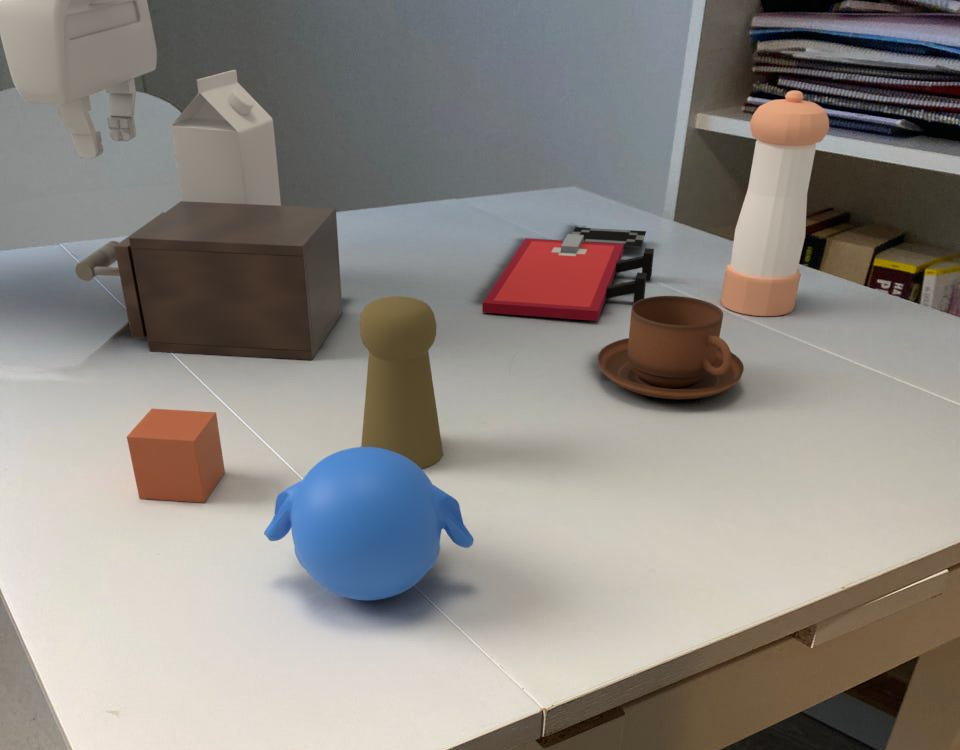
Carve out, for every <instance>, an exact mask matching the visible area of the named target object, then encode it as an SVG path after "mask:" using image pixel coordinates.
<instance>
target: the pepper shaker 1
mask: <svg viewBox="0 0 960 750" xmlns="http://www.w3.org/2000/svg"><path fill="white" fill-rule="evenodd" d="M359 335H360V339H361V342H362V345H364V347H365V348H366V349H367V351H368V360H367V372H366V384H365V396H364V399H365V400H364V408H363V421H362V431H361V432H362V433H361V445H360V447H376V448H382V449H387V450H390V451H393V452H396V453H398V454H401V455H403V456H405V457H406V458H408V459H410V460H411V461H413V462H414V463H415V464H416V465H418V466H419V467H420V468H421V469H422V470H423V469H425V468H428V467H432V466H433V465H435V464H436V463H438V462H440V461H441V458H442V457H443V455H444V451H443V443H442V438H441V437H442V436H441V430H440V429H441V428H440V422H439V416H438V408H437V401H436V395H435V389H434V380H433V374H432V367H431V360H430V354H429V351H430V349H431V347H432V346H433V344H434V343H435V341H436V337H437V320H436V317H435V313H434V311H433V310H432V308H431V306H430V305H429V304H428V303H426V301H425V302H424V301H423V300H421V299H418V298H414V297H410V296H399V295H398V296H397V295H396V296H385V297H380V298H376V299H374V300H372V301H370V302H369V303H368V304H366V305H365V307H364V308H363V310H362V312H361V313H360V318H359Z"/></svg>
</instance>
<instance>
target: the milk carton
mask: <svg viewBox="0 0 960 750" xmlns="http://www.w3.org/2000/svg"><path fill="white" fill-rule="evenodd" d="M196 85H197V94H196V95H195V97H194V98H193V99H192V100H191V101H190V103H189V104H188V105H187V106H186V107H185V108H184V109H183V111H182V112H181V113H180V114H179V115H178V117H177V118H176V119H175V120H174V121H173V122H172V124H171V125H170V131H171V136H172V143H173V151H174V158H175V164H176V170H177V171H176V172H177V178H178V183H179V190H180V198H181V201H186V202H208V203H231V204H253V205H276V206H282V202H281V190H280V189H281V188H280V179H279V170H278V169H279V168H278V158H277V148H276V139H275V138H276V137H275V127H274V119H273V117H272V116H271V114H269V113H268V112H267V111H266V110H265V109H264V108H263V107H262V106H261V104H259V102H257V101H256V99H254V98H253V96H252V95H251V94H250V93H249V92H248V91H247V90H246V89H245V88H244V87H243V86H242V85H241V84H240V83H239V82H238V73H237V69H232V70H228V71H224V72H221V73H216V74H212V75H209V76H205V77H202V78H197V79H196Z"/></svg>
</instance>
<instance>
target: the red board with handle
mask: <svg viewBox="0 0 960 750" xmlns="http://www.w3.org/2000/svg"><path fill="white" fill-rule="evenodd" d="M646 233H647V230H633V229H632V230H631V229H615V228H614V229H612V228H596V227H581V226H580V227H579V226H575V227H574V229H573V231H572V232H571V233H567V234H566V236H565V238H564V240H563V239H561V240H559V239H544V238H527V237H526V238H524V239H523V241H522V243H521V244H520V246H519V247H518V248H517V250H516V252H515V253H514V255H513V256H512V257H511V259H510V260H509V262H508V264H507V265H506V267H505V268H504V270H503V271H502V273H500V276H499V277H498V279H497V280H496V282H495V283H494V285H493V286H492V288H491V289H490V291H489V292H488V294H487V295H486V297H485V298H484V300H483V301H482V306H481V307H482V313H485V314H487V313H488V314H498V315H510V316H511V315H513V316H525V317H537V318H538V317H539V318H551V319H567V320H581V321H593V322H594V321H595V322H598V320H599V318H600V316H601V313H602V310H603V308H604V304H605V302H606V299H612V298H616V297H622V296H627V295H631V294H633V301H632V302H633V303H632V305H633V304H634V303H635V302H637V301H639V300H641V299H645V298H646V286H647V284H646V283H647V282H651V278H652V273H653V264H654V252H655V248H650V247H645V248H644V250H643V255H641V256H636V257H631V258H626V259H622V257H623V254H624V250H625V249H624V248H625V247H631V248H632V247H634V248H641V247H642V246H643V243H644V240H645V236H646ZM638 269H641V272H639V271H638V272H637V273H636V275H635V278H634V280H631V281H625V282H621V283H616V284H613V281H614V278H615V275H616V274H618V273H624V272H627V271H633V270H638Z"/></svg>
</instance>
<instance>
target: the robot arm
mask: <svg viewBox="0 0 960 750" xmlns="http://www.w3.org/2000/svg"><path fill="white" fill-rule="evenodd" d="M0 40H1V44H2V48H3V52H4V55H5V59H6V63H7V66H8V69H9V74H10V76H11V81H12V83H13V85H14V87H15V89H16V91H17V92H18V94H19V95H20V96H21V98H22V99H23V101H24V102H26V103H27V104H33V105H34V104H35V105H53V106H54V105H56V106H57V110H58V114H59V116H60V117H61V119H62V121H63V123H64V125H65V127H66V129H67V130H68V132H69V134H70V135H71V139H72V144H73V149H74V153H75V155H76V156H77V157H78V158H80V159H91V160H92V159H96V158H97V157H99V156H101V155H102V154H103V153H104V147H103V144H102V140H103V139H102V135H101V132H100V131H97V130H96V128H95V125H94V123H93V120H92V118H91V115H90V111H92V105H91V99H90V96H92V95H94V94H96V93H99V92H102V91H104V90H105V93H106V94H108V95H109V114H110V115H109V117H107V118H106V120H107V126H108V128H109V136H110V138H111V139H112V140H113V141H114V142H130V140H133V139H134V138H136V136H137V130H136V124H135V117H134V116H135V109H136V108H135V107H136V98H137V97H136V96H137V89H136V84H135V83H136V82H135V79H136V78H138V77H141V76H144V75H146V74H149V73H151V72H154V71H155V70H156V69H157V61H158V49H157V44H156V38H155V33H154V28H153V24H152V17H151V14H150V9H149V4H148V0H0Z"/></svg>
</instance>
